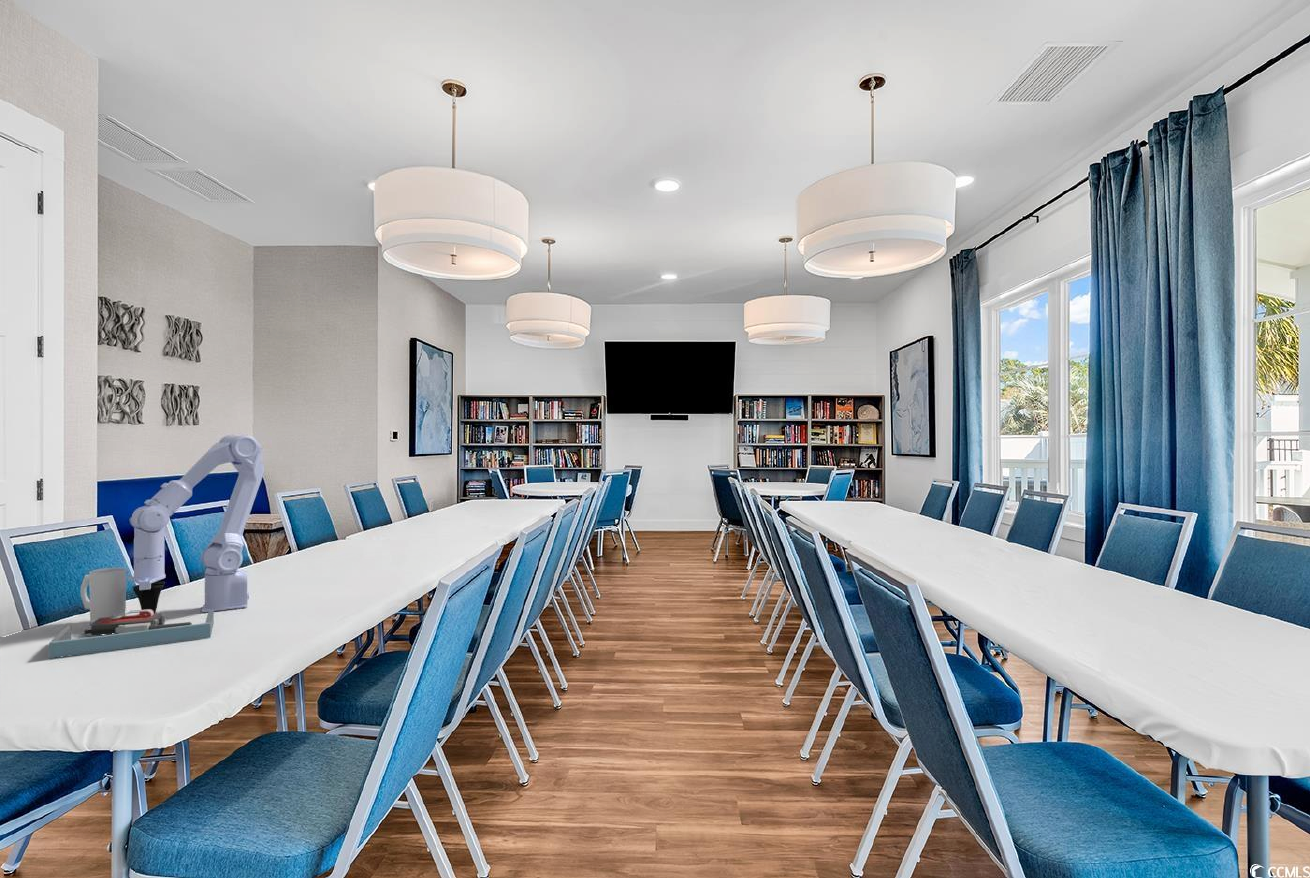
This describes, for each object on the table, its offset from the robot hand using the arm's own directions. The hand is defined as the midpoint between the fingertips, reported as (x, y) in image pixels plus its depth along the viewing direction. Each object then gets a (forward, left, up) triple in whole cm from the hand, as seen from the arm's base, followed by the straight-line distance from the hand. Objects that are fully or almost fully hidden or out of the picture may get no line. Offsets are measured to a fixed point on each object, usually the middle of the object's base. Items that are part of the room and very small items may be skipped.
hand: (149, 614), depth 153 cm
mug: (+10, -6, -2) cm, 11 cm away
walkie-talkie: (0, +7, -2) cm, 8 cm away
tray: (0, +16, -1) cm, 16 cm away
